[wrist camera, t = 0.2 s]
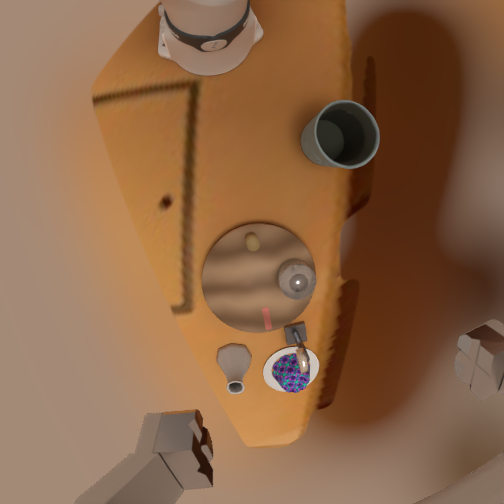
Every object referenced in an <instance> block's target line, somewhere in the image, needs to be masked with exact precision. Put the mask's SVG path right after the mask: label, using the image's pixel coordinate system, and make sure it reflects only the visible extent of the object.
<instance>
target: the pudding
mask: <svg viewBox="0 0 504 504" xmlns="http://www.w3.org/2000/svg"><path fill="white" fill-rule="evenodd" d="M296 349H298V347H289V348H285V349H282V350H280V351H278V352H276V353H275V354H273V355H272V356H271V357H270V358H269V359H268V360H267V362H266V364H265V366H264V370H263V376H264V379H265V381H266V383H267V384H268V385H269V386H270V387H272V388H273V389H275V390H278V391H284V392H294V393H297V392H299V391H300V390H303V389H305V388H306V386H307V385H308V384H310V383H311V382H312V381H313V380H314V378H315V377H316V375H317V373H318V370H319V361H318V359H317V357H316V355H315V354H314V353H313V352H312V351H310V350H308V349H306V351H307V353H308V355H309V358H310V360H309V362H310V365H308V368H309V372H306V373H302V374H301V372H300V370H299V366H298V362H297V357H296ZM289 353H295V354H292V355H290V356H288V355H285V354H289ZM283 355H284V356H283ZM281 356H282V357H281ZM279 357H281V358H280V360H279V361H278V362H275V361H276V360H277V359H278V358H279ZM274 362H275V364H274ZM273 364H274V365H273ZM272 366H273V369H274V371H273V373H272V372H271V370H272ZM272 374H273V376H274V378H275V379H276V380H275V379H274V378H273V376H272Z"/></svg>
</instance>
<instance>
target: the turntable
mask: <svg viewBox="0 0 504 504" xmlns="http://www.w3.org/2000/svg"><path fill="white" fill-rule="evenodd" d="M293 258H296V259H300V260H303V261H304V262H305V263H306V264H307V265H308V266H309V267H310V268H311V270H312V271H313V272H314V274H315V277H316V273H315V266H314V262H313V259H312V257H311V255H310V253H309V251H308V249H307V248H306V247H305V245H304V244H303V243H302V242H301V241H300V240H299V239H298V238H297V237H296V236H295V235H293V234H292V233H291V232H289V231H288V230H286V229H284V228H282V227H279V226H276V225H272V224H266V223H253V224H247V225H243V226H240V227H237V228H235V229H233V230H231V231H229V232H228V233H226V234H225V235H224V236H222V237H221V238H220V239H219V240H218V241H217V242H216V243H215V244H214V246H213V247H212V248H211V250H210V252H209V254H208V255H207V258H206V261H205V264H204V268H203V272H202V289H203V294H204V297H205V300H206V302H207V304H208V306H209V308H210V309H211V310H212V312H213V313H214V314H215V315H216V316H217V317H218V318H219V319H220V320H221V321H222V322H224V323H225V324H227V325H228V326H230V327H233V328H235V329H238V330H241V331H245V332H252V333H263V332H269V331H273V330H277V329H279V328H281V327H284V326H285V325H287V324H289V323H291V322H292V321H293V320H295V319H296V318H297V317H298V316H299V315H300V314H301V313H302V312H303V311H304V309H305V308H306V307H307V305H308V304H309V302H310V300H311V298H312V295H313V292H314V290H313V292H312V293H311V294H310V295H309V296H307V297H306V298H303V299H299V300H294V299H290V298H288V297H287V296H285V295H284V294H283V292H282V290H281V288H280V286H279V284H278V281H277V277H276V276H277V270H278V268H279V266H280V265H281V264H282V263H283V262H284V261H286V260H288V259H293Z"/></svg>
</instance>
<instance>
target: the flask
mask: <svg viewBox="0 0 504 504" xmlns="http://www.w3.org/2000/svg"><path fill="white" fill-rule="evenodd" d="M251 357H252V355H251V354H250V352H249V350H248V349H247V347H246V346H245V345H238V344H229V345H227V346H224V347H222V348H220V349H218V354H217V360H216V361H217V363H218V364H219V366H220V367H221V369H222V370H223V372H224V374H225V375H226V377H227V380H228V383H227V390H228V392H229V393H230V394H239V393H242V392H243V391H244V387H245V386H244V384H243V381H242V380H243V377H244V375H245V373H246V372H247V370H248V368H249V366H250V361H251Z"/></svg>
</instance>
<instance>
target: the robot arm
mask: <svg viewBox="0 0 504 504" xmlns="http://www.w3.org/2000/svg"><path fill="white" fill-rule="evenodd" d="M160 2H161V3H162V5H159V8H158V11H159V16H161V21H160V32H159V43H158V53H159V55H160V56H161V57H163V58H166V59H169V60H173V61H174V62H176V63H177V64H178V65H179V66H181V67H182V68H183V69H185V70H186V71H188V72H191V73H194V74H197V75H204V76H212V75H219V74H223V73H226V72H228V71H230V70H232V69H234V68H235V67H237V66H238V65H239V64H241V63H242V62H243V61H244V59H245V58H246V57H247V55H248V53H249V51H250V49H251V47H252V46H253V45H254V44H255V43H257V42H258V41H259V40H260V39H261V38H262V37H263V29H262V28H261V26H260V24H259V22H258V20H257V18H256V16H255V14H254V12H253V11H252V9H251V7H250V1H249V0H160ZM164 44H165V47H164V46H163V45H164ZM458 348H459V350H460V351H459V353H458V354H457V356H456V358H455V364H454V367H455V372H456V375H457V376H458V378H459V380H461V382H462V383H465V384H469V385H470V391H471V392H472V393H473V394H474V395H475V396H476V397H477V398H478V399H479V400H480V401H483V400H484V399H486V398H488V397H490V396H491V395H493V394H495V393H496V392H498V391H499V392H500V393H502V394H504V324H502V323H500V322H499V321H498V320H494V319H492V320H490V321H489V322H487V323H485V324H483V325H482V326H479V327H477V328H475V329H473V330H471V331H469V332H467V333H465V334H463V335H461V336H460V338H459V340H458ZM212 459H213V447H212V440H211V437H210V434H209V431H208V429H206V428H205V427H203V418H202V416H201V413H200V411H199V410H197V409H195V410H185V411H173V412H164V413H148V414H147V415H146V416H145V417H144V421H143V424H142V428H141V432H140V435H139V439H138V443H137V446H136V450H135V454H129V455H128V456H127V457H126V458H124V459H123V460H122V461H121V462H120V463H119V464H118V465H116V466H115V467H114V468H113V469H112V470H111V471H109V472H108V473H107V474H106V475H105V476H104V477H102V478H101V479H100V480H99V481H98V482H96V483H95V484H94V485H93V486H91V487H90V488H89V489H88V490H87V491H86V492H84V493H83V494H82V495H80V496H79V497H78V498H77V499H76V501H75V504H175V503H176V501H177V500H178V499H179V497H180V496H181V495H182V493H183V492H184V490H188V489H201V488H210V487H213V469H212V467H211V465H210V463H209V462H210V461H211V460H212ZM414 504H504V451H503V452H502V453H500V454H499V455H498V456H496V457H495V458H493V459H492V460H490V461H489V462H487V463H486V464H484V465H483V466H481V467H480V468H478V469H477V470H475V471H473V472H472V473H470V474H469V475H467V476H465V477H463V478H462V479H460V480H458V481H457V482H455V483H453V484H451V485H449V486H448V487H446V488H444V489H442V490H440V491H438V492H436V493H434V494H432V495H430V496H428V497H426V498H424V499H422V500H420V501H418V502H416V503H414Z"/></svg>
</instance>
